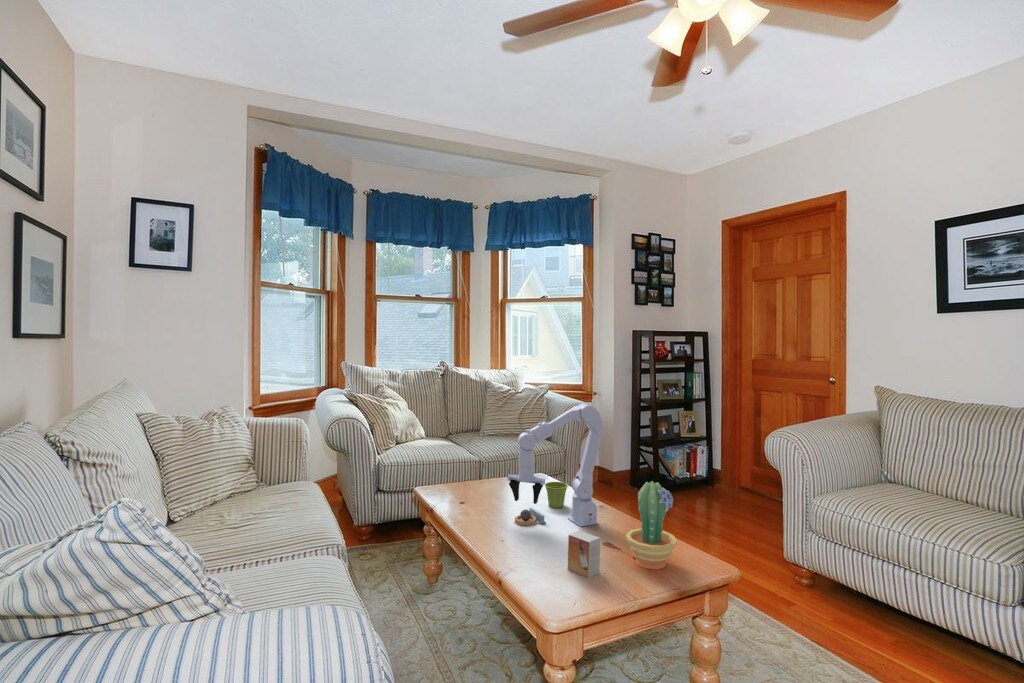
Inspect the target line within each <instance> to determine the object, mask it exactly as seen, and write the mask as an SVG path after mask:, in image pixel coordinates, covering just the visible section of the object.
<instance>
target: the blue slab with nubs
mask: <svg viewBox="0 0 1024 683" xmlns="http://www.w3.org/2000/svg"><path fill="white" fill-rule="evenodd" d="M528 510H529V511H530V513H531V515H532V516H534V517H536V522H538V524H539V525H546V524H547V521H545V515H544V514H542V513H541V512H540V511H538V510H536V509H535V508H533V507H529V509H528Z"/></svg>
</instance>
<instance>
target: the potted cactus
mask: <svg viewBox="0 0 1024 683" xmlns="http://www.w3.org/2000/svg"><path fill="white" fill-rule="evenodd" d="M637 503H638V504H637V505H638V513H639V516H640V520H641V522H640V523H641V528H636V529H631V530H629V531H627V533H626V534H625V539H626V541H627V543H628V544H629V547H630V549H631V552H632V553H633V555H634V557H635V558H636V559H635V563H636V564H637V565H638V566H639V567H641V568H645V569H647V570H661V569H664V568H665V567H666V565H667V563H666V561H667V560H668V559H669V557H671V555H672V551H673V550H674V549H675V547H676V545H677V543H678V542H677V541H678V539H677V537H675V536H674V535H673V534H671V533H670V532H667V531H665V530H663V525H664V520H665V516H666V515H667V512H668V511H669V509H670V508H671V509H672V508H673V504H674V497H673V496H672V493H671V492H670V490H667V489H666V488H664V487H662V485H661V484H660V483H659V482H654V481H653V480H651V481H650V482H648V481H645V483H644V484H643V485H642V487H641V488H640V490H639V491H638V492H637Z"/></svg>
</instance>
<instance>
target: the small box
mask: <svg viewBox="0 0 1024 683" xmlns="http://www.w3.org/2000/svg"><path fill="white" fill-rule="evenodd" d="M567 539H568V542H567V544H568V545H567V546H568V547H567V569H568V570H569V571H572V572H575V573H577V574H579V575H582V576H584V577H586V578H591V577H593V576H594V575H596V574H599V573H600V570H601V569H600V568H601V567H600V565H601V563H600V562H601V537H599V536H596V535H594V534H590V533H587V532H584V531H582V530H576V531H575V532H572V533H569V534H568V538H567Z"/></svg>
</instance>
